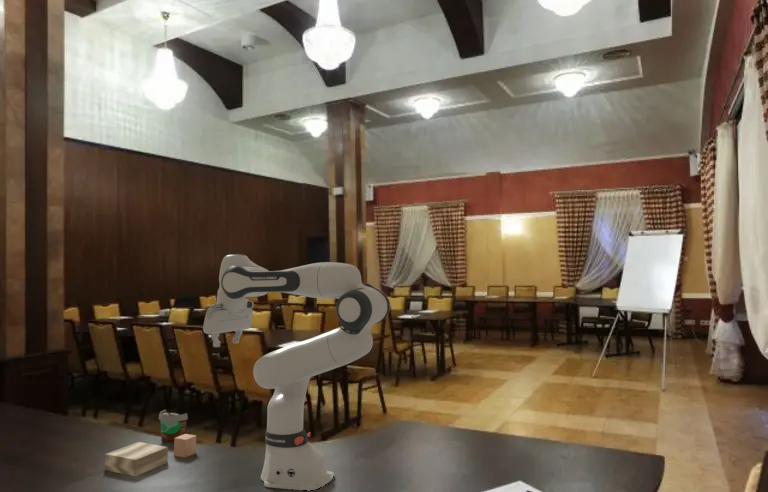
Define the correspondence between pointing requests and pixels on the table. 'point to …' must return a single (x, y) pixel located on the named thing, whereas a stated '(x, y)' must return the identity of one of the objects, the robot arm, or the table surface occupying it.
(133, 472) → the birch plinth
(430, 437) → the table surface
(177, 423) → the food container
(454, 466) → the table surface
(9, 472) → the table surface
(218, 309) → the robot arm
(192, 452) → the terracotta block
